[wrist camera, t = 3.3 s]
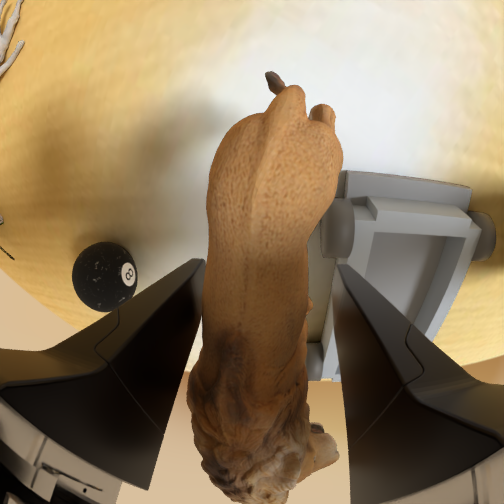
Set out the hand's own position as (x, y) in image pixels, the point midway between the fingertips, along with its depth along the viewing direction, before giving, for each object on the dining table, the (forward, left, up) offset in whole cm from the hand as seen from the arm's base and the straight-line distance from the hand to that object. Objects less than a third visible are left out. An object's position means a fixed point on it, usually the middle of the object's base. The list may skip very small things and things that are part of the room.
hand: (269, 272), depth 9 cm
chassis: (-10, +10, -11) cm, 18 cm away
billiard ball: (+15, +7, -12) cm, 20 cm away
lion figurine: (-1, +1, -4) cm, 4 cm away
